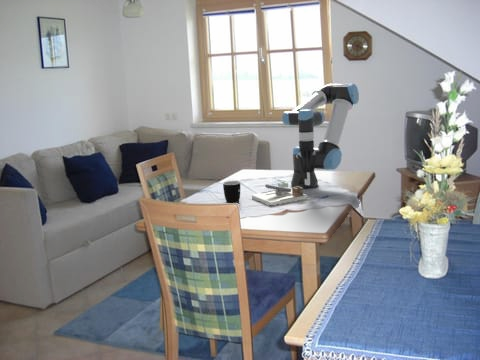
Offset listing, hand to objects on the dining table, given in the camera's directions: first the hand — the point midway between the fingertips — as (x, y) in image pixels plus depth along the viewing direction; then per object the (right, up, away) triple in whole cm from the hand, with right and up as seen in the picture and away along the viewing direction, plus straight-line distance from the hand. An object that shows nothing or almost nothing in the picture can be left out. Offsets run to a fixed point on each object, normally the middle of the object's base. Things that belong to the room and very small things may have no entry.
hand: (307, 184), depth 293 cm
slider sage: (-12, -3, +10) cm, 16 cm away
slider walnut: (-5, -5, -2) cm, 8 cm away
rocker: (-15, -2, +1) cm, 15 cm away
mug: (-39, -9, +3) cm, 40 cm away
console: (-15, -7, +2) cm, 16 cm away
